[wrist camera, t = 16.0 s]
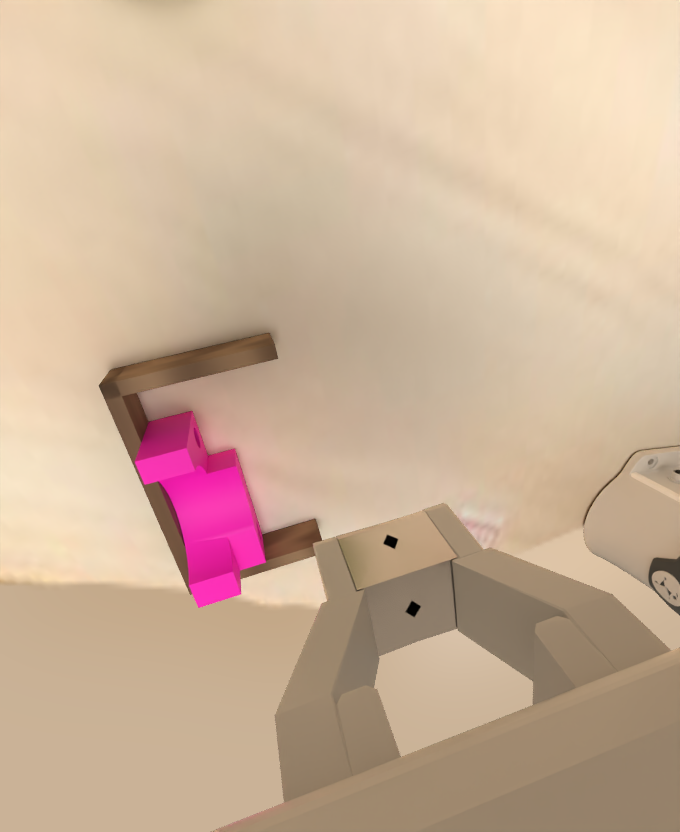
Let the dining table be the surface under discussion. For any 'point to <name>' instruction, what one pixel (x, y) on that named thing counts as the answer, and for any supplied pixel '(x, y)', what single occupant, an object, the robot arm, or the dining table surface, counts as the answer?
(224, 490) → the toy block
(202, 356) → the walnut bay
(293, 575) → the dining table surface
